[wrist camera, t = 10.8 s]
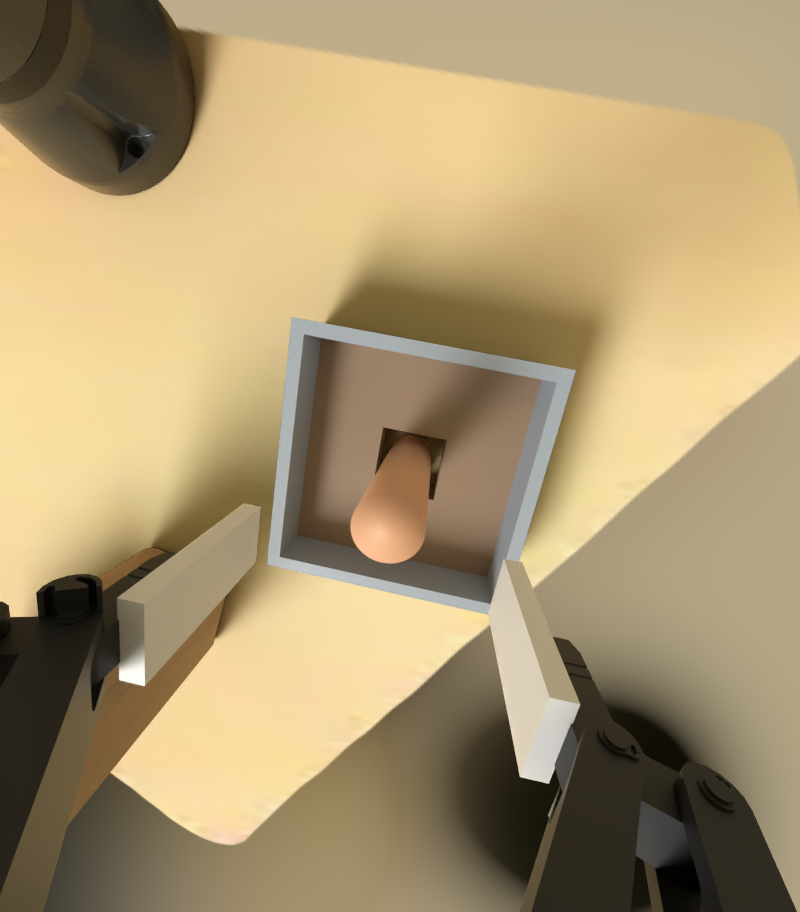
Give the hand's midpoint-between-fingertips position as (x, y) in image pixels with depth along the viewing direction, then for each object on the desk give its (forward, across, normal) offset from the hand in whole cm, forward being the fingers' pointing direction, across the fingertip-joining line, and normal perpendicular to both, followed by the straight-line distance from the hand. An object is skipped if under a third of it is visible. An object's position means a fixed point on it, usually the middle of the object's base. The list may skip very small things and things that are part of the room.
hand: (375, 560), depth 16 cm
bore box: (+20, 0, 0) cm, 20 cm away
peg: (+20, 0, 0) cm, 20 cm away
